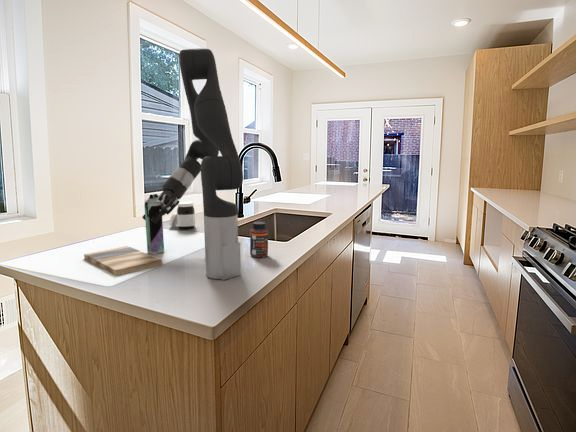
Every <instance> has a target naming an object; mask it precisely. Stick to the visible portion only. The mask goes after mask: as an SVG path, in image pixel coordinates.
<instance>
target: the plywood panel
mask: <svg viewBox="0 0 576 432" xmlns="http://www.w3.org/2000/svg"><path fill="white" fill-rule="evenodd" d="M83 256H84V258H83V259H84V260H87V261H88V262H90V263H92V264H94V265H96V266H98V267H100V268H102V269H103V270H106V271H107V272H109V273H111V274H112V275H115V276H120V275H123V274H127V273H128V274H129V273H132V272H137V271H140V270H144V269H149V268H152V267H156V266H161V264H162V265H163V260H162V259H161V258H158V257H156V256H155V255H154V256H153V255H152V254H150V253H146V252H144V251H141V250H140V249H139V250H138V249H136V248H133V247H131V246H127V245H126V246H119V247H115V248H109V249H103V250H99V251H94V252H89V253H83Z"/></svg>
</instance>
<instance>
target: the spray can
mask: <svg viewBox="0 0 576 432" xmlns="http://www.w3.org/2000/svg"><path fill="white" fill-rule="evenodd" d="M155 194H156V193H154V194H149V197H148V199H147V200H145V201H144V204H143V205H144V214H145V220H144V221H145V222H144V223H145V234H146V247H147V248H146V251H147V254H150V253H151V254H150V255H153V254H154V255H155V254H156V253H157V254H161V253H164V252H165V244H164V243H165V242H164V240H165V239H164V226H163V225H164V224H163V216H162V217H161V219H160V220H159V221H158V222H157V223H154V222H152V221H151V219H152V217H153V216H154V215H155V214H156V212H157V211H158V210H159V208H160V203H161V201H159V200H158V199H157V198H156V197H155Z"/></svg>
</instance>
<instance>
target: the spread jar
mask: <svg viewBox="0 0 576 432" xmlns="http://www.w3.org/2000/svg"><path fill="white" fill-rule="evenodd" d="M194 207H195V206H194V202H192V201H180V202H179V204H178V205H177V209H176V212H174V213H172V215H171V217H170V218H169V219H170V220H169V222H168V224H169V226H170V227H171V228H175V227H176V226H177V229H178V230H180V231H181V230H182V231H185V230H186V231H187V230H188V231H189V230H190V231H191V230H193V229H195V228H196V216H195V215H196V213H195V212H196V211H195V208H194Z"/></svg>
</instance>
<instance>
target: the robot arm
mask: <svg viewBox="0 0 576 432" xmlns="http://www.w3.org/2000/svg"><path fill="white" fill-rule="evenodd" d="M178 60H179V61H178V62H179V68H180V73H181V74H180V75H181V79H182V83H183V87H184V92H185V96H186V101H187V105H188V107H189V113H190V121H191V128H192V134H193V135H194V136H195V138H197V139H194V140H193V141H192V142H191V144H190V145H189V148H188V151H187V153H186V155H185V157H184V160H182V162H181V163H180V164H179V166H178V167H177V168H176V169H175V170H174V171H173V172H172V173H171V175H170V176H169V177H168V178H166V180H165V181H164V183H163V184H162V187H161V189H162V190H163V191H162V192H161V193H160V194H159V195H158V194H157V193H154V194H155V197H156V198H157V199H158V200H159V201H161V203H160V208H159V210H158V211H157V212H156V214H155V215H154V216H153V217H152V219H151V221H152V222H154V223H157V222H158V221H159V220H160V219H161V217H162V218H163V216H165V215H170V214H171V213H172V211H173V210H174V209H175V208H176V207H178V204H179V202H181V201H180V200H181V199H182V197H183V196H184V195H185V194H186V192H187V191H188V190H189V189H190V187H191V186H192V184H193V182H194V181H195V179H196V178H197V177H198V175H200V180H201V188H202V204H203V205H202V206H203V232H204V233H203V234H204V256H205V257H204V259H205V260H204V261H205V262H204V263H205V275H206V277H207V278H210V279H215V280H222V281H225V280H226V281H227V280H228V279H232V278H235V277H237V276H241V275H242V265H241V263H242V261H241V257H242V255H241V242H240V241H239V226H238V225H239V223H238V222H239V220H238V218H239V216H238V206H237V204H236V203H234V202H231V201H228V200H226V199H225V200H224V199H223V198H220V197H219V196H218V195H217V191H230V190H231V191H233V190H238V189H240V188H241V187H242V185H243V181H244V172H243V166H242V163H241V159H240V156H239V154H238V151H237V148H236V144H235V142H234V139H233V136H232V132H231V127H230V122H229V118H228V113H227V110H226V109H227V108H226V105H225V100H224V98H223V94H222V92H221V91H222V90H221V86H220V82H219V74H218V70H217V64H216V59H215V55H214V52H213V51H212V50H211V49H210V48H206V47H205V48H201V47H199V48H183V49H181V50H180V51H179V56H178ZM196 80H197V81H198V80H206V81H205V84H204V86H203V87H202V89H201V90H200V91H199V93H198V92H197V91H196V88H195V86H194V83H193V81H196ZM219 153H220V154H221V155H219ZM199 159H200V160H201V162H200V161H198V160H199ZM142 219H143V220H144V221H145V213H144V214H143V216H142Z"/></svg>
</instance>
